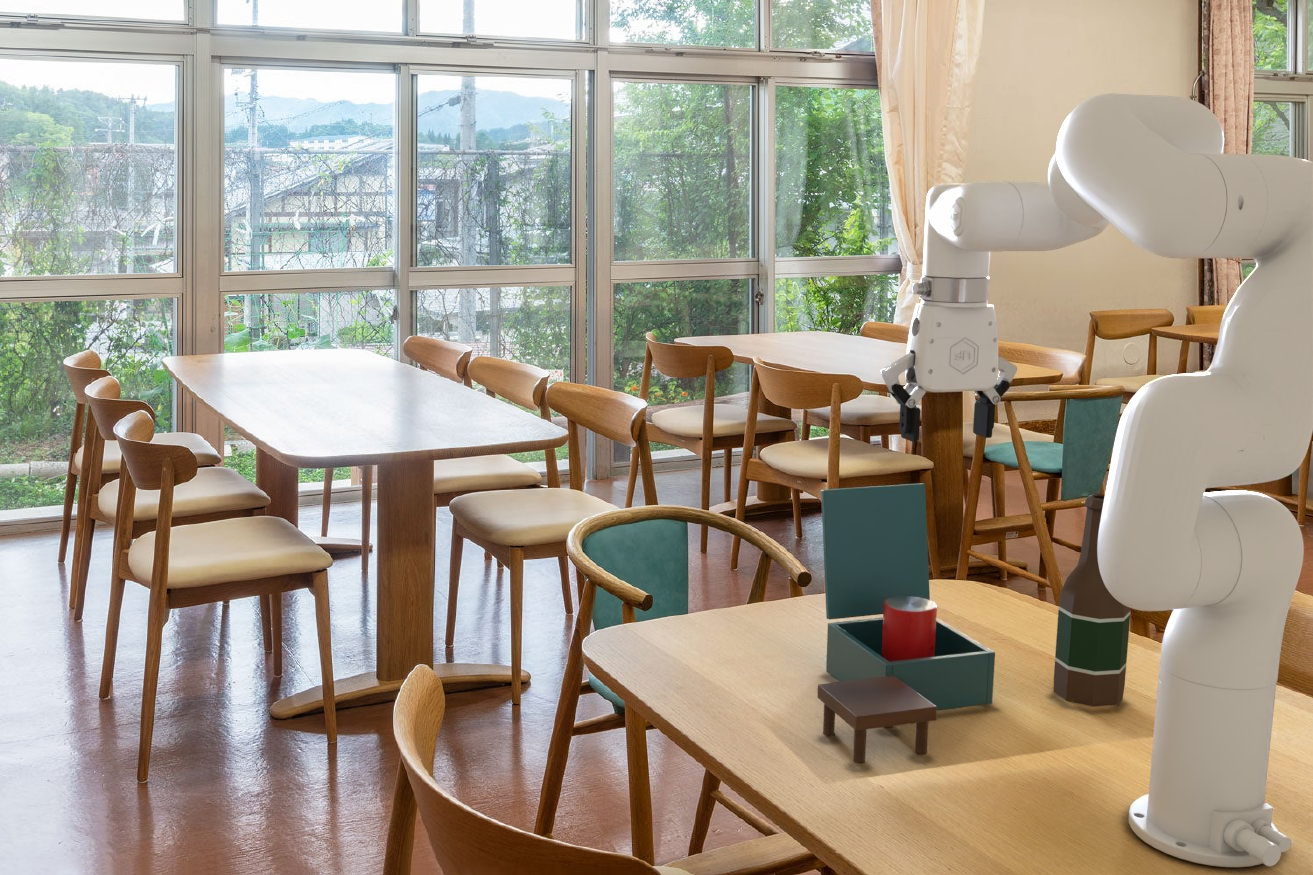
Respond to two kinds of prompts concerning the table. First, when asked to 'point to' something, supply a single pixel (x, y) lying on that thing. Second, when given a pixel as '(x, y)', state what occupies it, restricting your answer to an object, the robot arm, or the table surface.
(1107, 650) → the beer bottle
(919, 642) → the soda can
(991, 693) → the teal open box
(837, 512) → the lid
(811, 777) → the table surface
